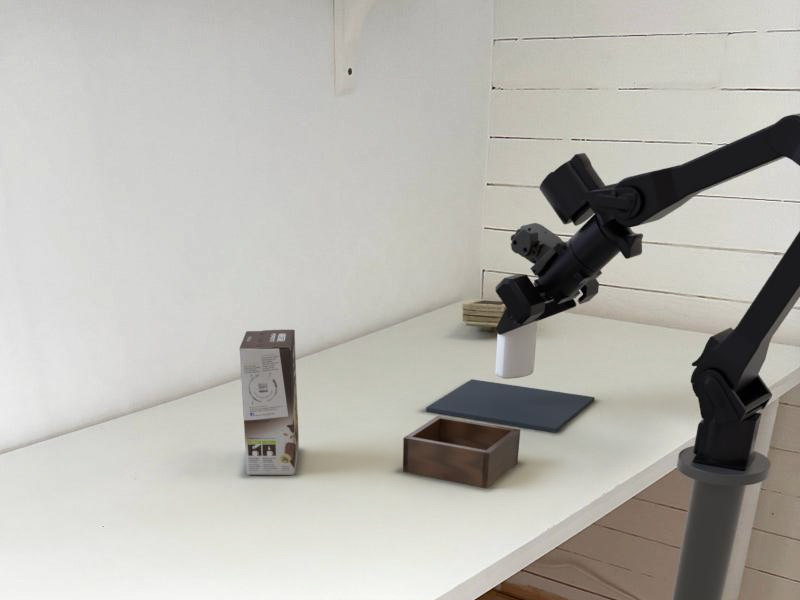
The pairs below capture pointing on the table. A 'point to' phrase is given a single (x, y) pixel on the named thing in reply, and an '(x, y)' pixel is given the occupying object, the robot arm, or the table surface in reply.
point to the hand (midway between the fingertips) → (509, 327)
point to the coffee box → (270, 401)
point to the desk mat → (512, 405)
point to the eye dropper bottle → (516, 352)
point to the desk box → (461, 451)
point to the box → (483, 313)
